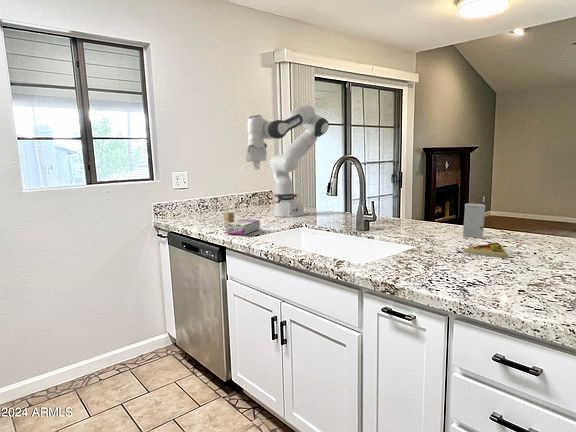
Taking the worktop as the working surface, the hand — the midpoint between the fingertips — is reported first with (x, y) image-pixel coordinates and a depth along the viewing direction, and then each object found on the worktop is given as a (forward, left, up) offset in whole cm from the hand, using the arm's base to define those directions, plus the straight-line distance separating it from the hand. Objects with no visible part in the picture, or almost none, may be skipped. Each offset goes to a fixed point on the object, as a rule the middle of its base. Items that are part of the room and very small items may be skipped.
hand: (256, 169), depth 219 cm
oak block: (+18, -2, -31) cm, 36 cm away
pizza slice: (-34, +117, -32) cm, 126 cm away
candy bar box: (+13, +13, -28) cm, 34 cm away
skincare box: (-53, +99, -31) cm, 117 cm away
